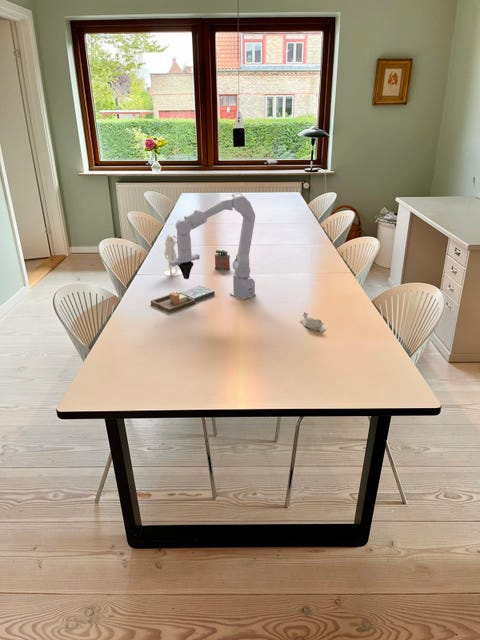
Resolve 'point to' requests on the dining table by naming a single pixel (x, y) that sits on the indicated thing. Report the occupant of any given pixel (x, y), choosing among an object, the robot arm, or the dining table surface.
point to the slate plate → (198, 293)
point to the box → (171, 304)
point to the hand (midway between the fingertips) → (186, 278)
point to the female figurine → (171, 256)
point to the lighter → (222, 260)
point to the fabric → (312, 323)
